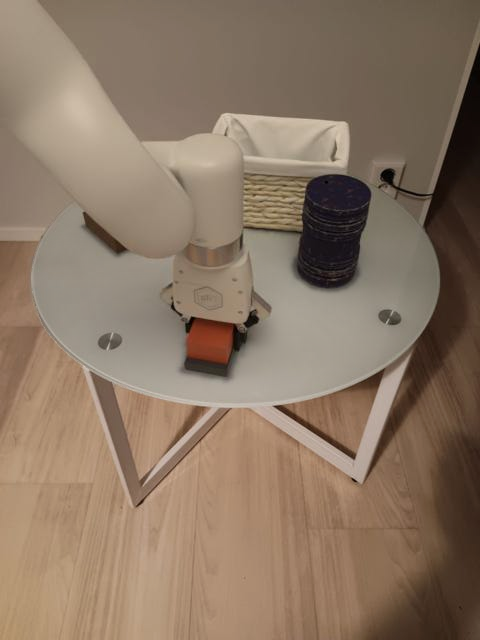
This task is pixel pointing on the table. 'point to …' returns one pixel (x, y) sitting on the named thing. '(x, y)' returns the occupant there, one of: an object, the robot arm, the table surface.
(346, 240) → the storage jar
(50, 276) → the table surface
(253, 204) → the basket
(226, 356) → the shoe
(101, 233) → the tray
